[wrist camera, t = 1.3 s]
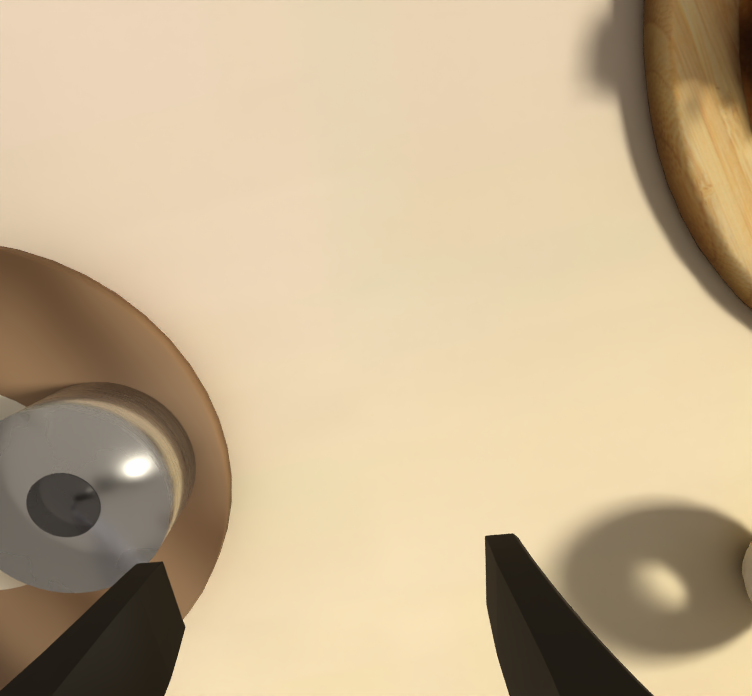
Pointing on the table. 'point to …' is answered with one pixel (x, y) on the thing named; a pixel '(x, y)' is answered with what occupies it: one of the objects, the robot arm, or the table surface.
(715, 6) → the wooden plate with food
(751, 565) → the donut
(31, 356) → the turntable
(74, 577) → the cover
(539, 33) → the table surface
